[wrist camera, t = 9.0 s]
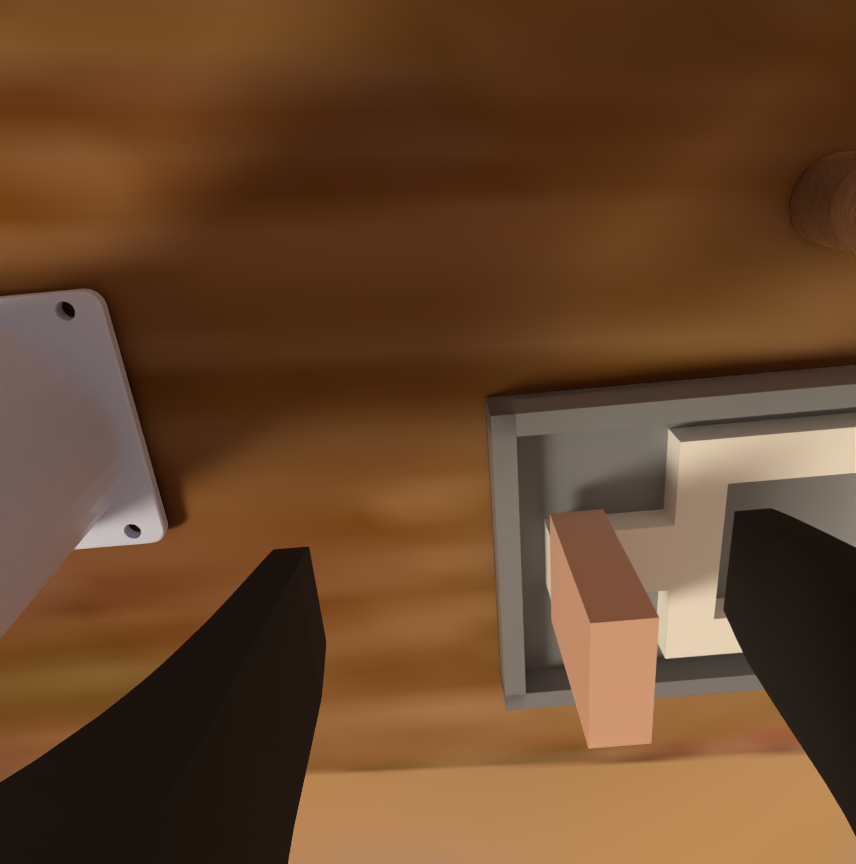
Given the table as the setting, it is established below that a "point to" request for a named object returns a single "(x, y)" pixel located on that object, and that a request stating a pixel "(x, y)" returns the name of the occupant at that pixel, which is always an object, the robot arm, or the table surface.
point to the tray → (634, 500)
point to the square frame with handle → (666, 565)
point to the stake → (827, 202)
